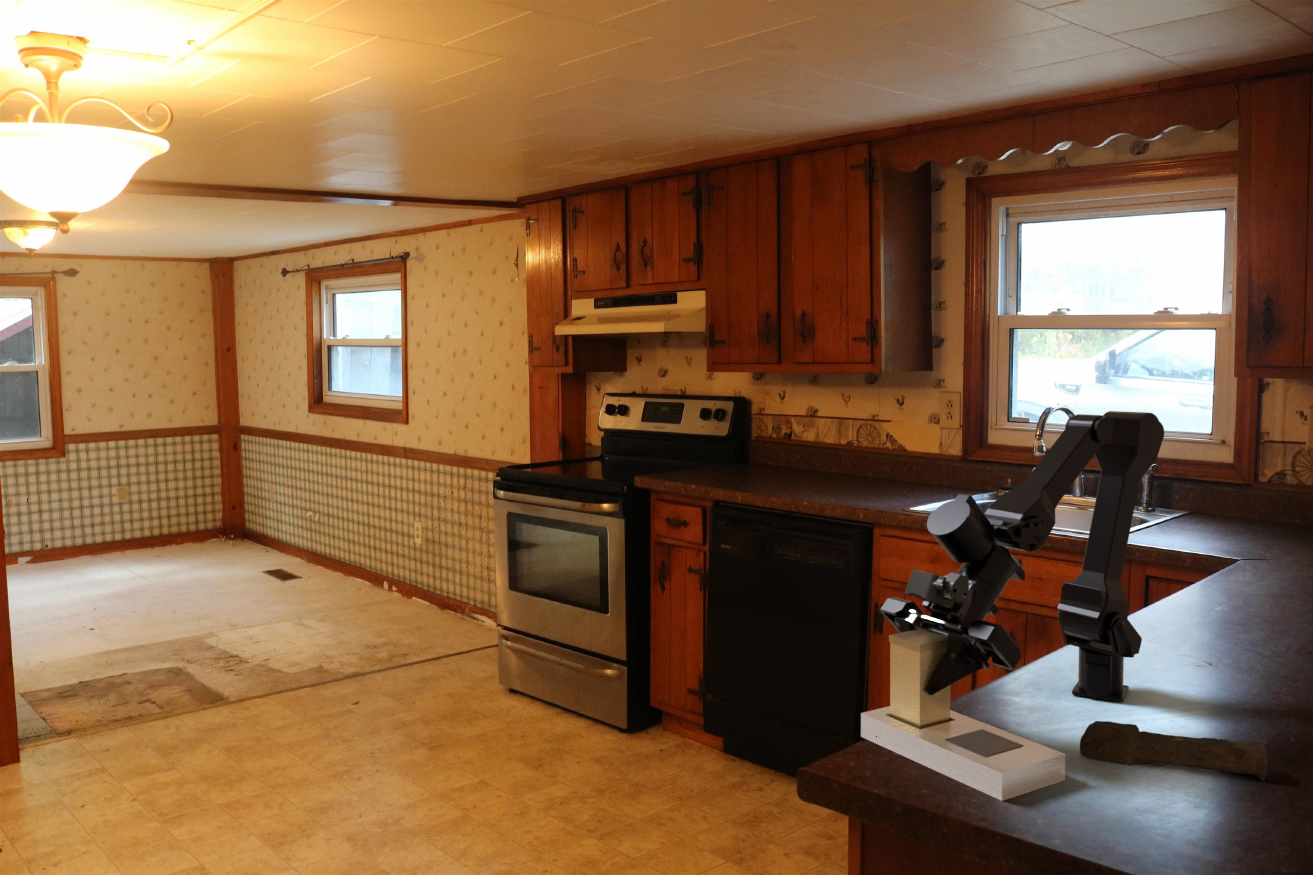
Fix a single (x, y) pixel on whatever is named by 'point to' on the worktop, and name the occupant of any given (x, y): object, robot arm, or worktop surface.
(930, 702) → the beige tall square block
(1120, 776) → the worktop surface
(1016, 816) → the worktop surface
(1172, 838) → the worktop surface
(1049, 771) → the white base plate
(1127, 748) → the hand tool
